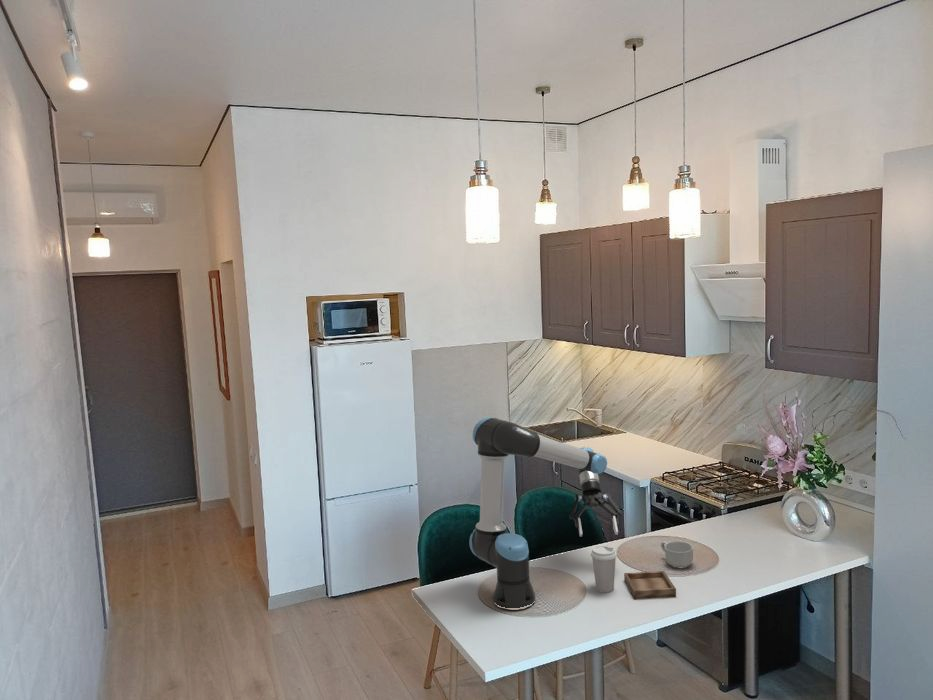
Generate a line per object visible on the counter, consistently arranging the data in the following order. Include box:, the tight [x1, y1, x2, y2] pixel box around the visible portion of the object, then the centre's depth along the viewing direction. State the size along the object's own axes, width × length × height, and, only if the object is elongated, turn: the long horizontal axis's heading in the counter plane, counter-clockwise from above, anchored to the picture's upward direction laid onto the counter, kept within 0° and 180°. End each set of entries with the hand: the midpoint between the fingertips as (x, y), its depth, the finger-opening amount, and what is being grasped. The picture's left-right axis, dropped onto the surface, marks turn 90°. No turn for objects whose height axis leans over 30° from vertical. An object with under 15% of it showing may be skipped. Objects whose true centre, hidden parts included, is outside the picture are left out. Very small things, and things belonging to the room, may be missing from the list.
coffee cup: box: [590, 545, 618, 593], centre depth 256 cm, size 10×10×15 cm
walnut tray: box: [623, 570, 677, 600], centre depth 254 cm, size 15×15×3 cm
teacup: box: [660, 540, 694, 568], centre depth 274 cm, size 14×11×8 cm
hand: (598, 534), depth 265 cm, fingers open, 13 cm apart
